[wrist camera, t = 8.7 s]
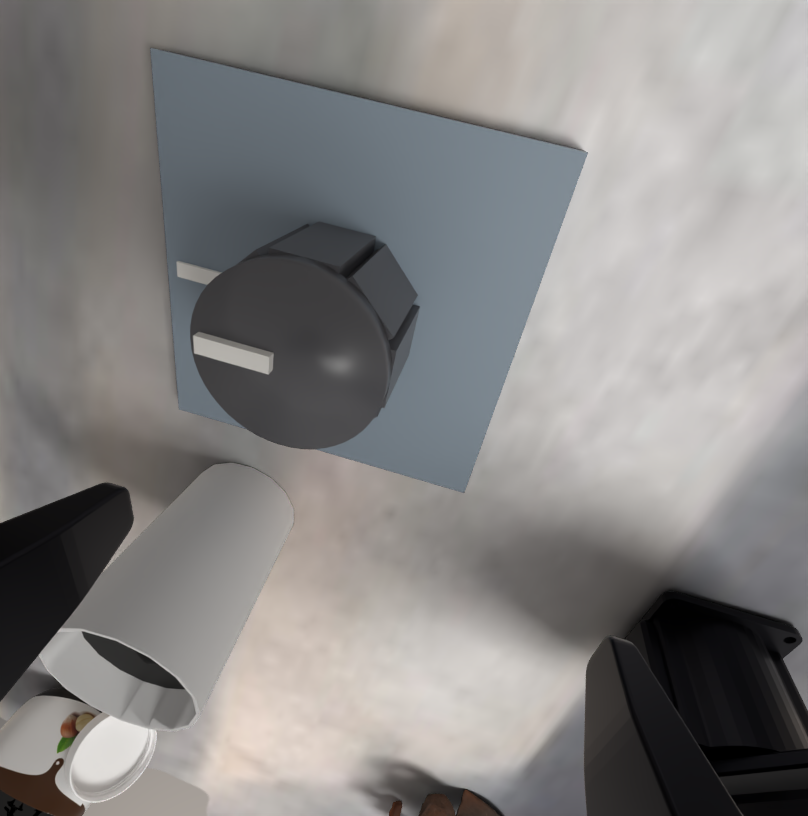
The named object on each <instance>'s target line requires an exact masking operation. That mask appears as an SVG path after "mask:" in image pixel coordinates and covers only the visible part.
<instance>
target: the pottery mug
mask: <svg viewBox="0 0 808 816" xmlns="http://www.w3.org/2000/svg"><path fill="white" fill-rule="evenodd" d="M401 809H402V802H401V801H396V802H394V803H393V805H392V808H391V810H390V812H389V816H400V814H401ZM419 816H500V815H499V814H497V813H496V811H495V810H494V809H493V808H492V807H490V806H489V805H488V804H486V803H485V802H483V801H482V800H481V799H479V798H478V797H477V796H475V795H474V794H472V793H471V792H469V791H468V790H466V789H465V790H464V792H463V795H462V800H461V804H460V805H459V808H458V810H457V814H456V815H455V811H454V809H453V806H452V804H451V802H450V800H449V799H448V798H447V796H446V795H445V794H428V795H427V797H426V799H425V802H424V803H423V804H422V807H421V811H420V814H419Z"/></svg>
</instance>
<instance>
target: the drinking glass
mask: <svg viewBox="0 0 808 816" xmlns="http://www.w3.org/2000/svg"><path fill="white" fill-rule="evenodd" d="M293 524H294V508H293V506H292V504H291V502H290V500H289V498H288V496H287V494H286V492H285V491H284V490H283V489H282V488H281V487H280V486H279V485H278V484H277V483H276V482H275V481H274V480H273V479H272V478H270V477H268V476H267V475H265V474H263V473H261V472H260V471H258V470H256V469H254V468H253V467H249V466H244V465H240V464H236V463H223V464H214V465H213V466H211V467H210V468H208V469H207V470H205V471H204V472H202V473H201V474H200V475H199V476H198V477H197V478H196V479H195V480H194V481H193V482H192V483H191V484H190V485H189V486H188V487H187V488H186V489H185V490H184V491H183V492H182V493H181V494H180V495H179V496H178V497H177V498H176V499H175V500H174V501H173V502H172V503H171V504H170V505H169V506H168V507H167V508H166V509H165V510H164V511H163V512H162V513H161V514H160V515H159V516H158V517H157V518H156V519H155V520H154V521H153V522H152V523H151V524H150V525H149V526H148V527H147V529H146V530H145V531H144V532H143V533H142V534H141V535H140V536H139V537H138V538H137V539H136V540H135V541H134V542H133V543H132V544H131V545H130V546H129V547H128V548H127V549H126V550H125V551H124V552H123V553H122V554H121V555H120V556H119V557H118V558H117V559H116V560H115V561H114V562H113V563H112V564H111V565H110V566H109V567H108V568H107V569H106V570H105V571H104V572H103V573H102V574H101V575H100V576H99V577H98V579H97V580H96V582H95V583H94V585H93V586H92V588H91V589H90V591H89V592H88V594H87V595H86V596H85V598H84V599H83V601H82V602H81V603H80V605H79V606H78V607H77V608H76V610H75V611H74V612H73V613H72V615H71V616H70V617H69V618H68V620H67V621H66V622H65V623H64V625H63V626H62V627H61V628H60V629H59V631H58V632H57V633H56V634H55V635H54V637H53V638H52V639H51V640H50V642H49V643H48V644H47V645H46V646H45V648H44V649H43V650H42V651H41V653H40V654H39V656H40V658H41V660H42V662H43V664H44V666H45V668H46V670H47V671H48V672H49V673H50V674H51V675H52V676H53V677H54V678H55V679H56V680H57V681H58V682H59V683H60V684H61V685H62V686H63V687H64V688H65V689H67V690H68V691H70V692H71V693H72V694H74V695H75V696H77V697H78V698H80V699H81V700H83V701H84V702H86V703H87V704H89V705H90V706H92V707H94V708H96V709H98V710H100V711H102V712H104V713H106V714H108V715H110V716H112V717H114V718H116V719H118V720H121V721H124V722H127V723H130V724H134V725H137V726H140V727H143V728H147V729H152V730H162V731H171V732H174V731H179V730H183V729H187V728H191V727H192V726H193V725H194V724H195V722H196V721H197V720H198V718H199V717H200V715H201V713H202V711H203V709H204V707H205V705H206V703H207V701H208V699H209V697H210V695H211V693H212V691H213V688H214V686H215V684H216V682H217V680H218V678H219V676H220V674H221V672H222V670H223V668H224V666H225V664H226V662H227V660H228V658H229V656H230V654H231V651H232V649H233V647H234V645H235V643H236V641H237V639H238V637H239V635H240V633H241V631H242V629H243V627H244V625H245V623H246V621H247V619H248V617H249V614H250V612H251V610H252V608H253V606H254V604H255V602H256V600H257V598H258V596H259V594H260V592H261V590H262V588H263V586H264V584H265V582H266V580H267V577H268V575H269V573H270V571H271V569H272V567H273V565H274V563H275V561H276V559H277V557H278V555H279V553H280V551H281V549H282V547H283V545H284V543H285V540H286V538H287V536H288V534H289V532H290V530H291V528H292V526H293Z"/></svg>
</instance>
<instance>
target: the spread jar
mask: <svg viewBox="0 0 808 816" xmlns="http://www.w3.org/2000/svg"><path fill="white" fill-rule="evenodd" d="M156 739H157V730H152V729H147V728H143V727H140V726H137V725H134V724H130V723H127V722H124V721H121V720H118V719H116V718H114V717H112V716H110V715H108V714H106V713H104V712H102V711H100V710H98V709H96V708H94V707H92V706H90V705H89V704H87V703H86V702H84V701H83V700H81V699H80V698H78V697H77V696H75V695H74V694H72V693H71V692H70V691H68V690H67V689H65V688H64V687H59V688H54V689H50V690H47V691H44V692H42V693H39V694H38V695H36V696H34V697H33V698H31V699H30V700H28V701H27V702H26V703H25V704H24V705H23V706H21V707H20V708H19V709H18V710H17V711H16V712H15V713H14V715H13V716H12V717H11V718H10V719H9V720H8V721H7V722H6V724H5V725H4V726H3V727H2V728H1V729H0V816H82V815H83V814H84V812H85V811H86V810H87V809H88V807H89V805H90V804H91V803H92V802H94V803H95V802H96V803H97V802H102V801H106V800H109V799H111V798H114V797H115V796H117V795H119V794H121V793H122V792H124V791H125V790H126V789H127V788H129V787H130V786H131V785H132V784H133V783H134V782H135V781H136V780H137V779H138V778H139V777H140V775H141V774H142V773H143V772H144V770H145V769H146V767H147V765H148V764H149V762H150V760H151V757H152V755H153V753H154V749H155V746H156Z"/></svg>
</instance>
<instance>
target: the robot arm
mask: <svg viewBox="0 0 808 816" xmlns="http://www.w3.org/2000/svg"><path fill="white" fill-rule="evenodd" d="M133 520H134V516H133V511H132V505H131V500H130V494H129V491H128V490H127V489H126V488H125V487H122V486H119V485H115V484H112V483H101V484H98V485H96V486H93V487H91V488H88V489H86V490H83V491H81V492H78V493H76V494H73V495H70V496H68V497H65V498H63V499H60V500H58V501H55V502H53V503H50V504H48V505H45V506H43V507H40V508H38V509H35V510H32V511H30V512H27V513H25V514H22V515H20V516H17V517H15V518H12V519H10V520H7V521H5V522H2V523H0V701H1V700H2V699H3V698H4V696H5V695H6V694H7V693H8V692H9V690H10V689H11V688H12V687H13V685H14V684H15V683H16V682H17V681H18V679H19V678H20V677H21V676H22V675H23V673H24V672H25V671H26V670H27V668H28V667H29V666H30V665H31V664H32V662H33V661H34V660H35V659H36V657H37V656H38V655H39V654H40V653H41V651H42V650H43V649H44V648H45V646H46V645H47V644H48V643H49V642H50V640H51V639H52V638H53V637H54V635H55V634H56V633H57V632H58V631H59V629H60V628H61V627H62V626H63V625H64V623H65V622H66V621H67V620H68V618H69V617H70V616H71V615H72V613H73V612H74V611H75V610H76V608H77V607H78V606H79V605H80V603H81V602H82V601H83V599H84V598H85V596H86V595H87V594H88V592H89V591H90V589H91V588H92V586H93V585H94V583H95V582H96V580H97V579H98V577H99V576H100V574H101V573H102V572H103V570H104V569H105V567H106V566H107V564H108V563H109V561H110V560H111V558H112V557H113V555H114V554H115V552H116V551H117V549H118V548H119V546H120V545H121V543H122V542H123V540H124V539H125V537H126V536H127V534H128V533H129V531H130V529H131V527H132V525H133ZM801 642H802V637H801V635H800V633H799V631H798V630H797V629H796V628H794V627H792V626H788V625H785V624H782V623H778V622H775V621H772V620H768V619H765V618H762V617H758V616H755V615H752V614H748V613H745V612H741V611H738V610H735V609H731V608H728V607H725V606H721V605H718V604H715V603H711V602H708V601H705V600H701V599H698V598H695V597H691V596H688V595H685V594H681V593H678V592H673V591H671V592H666V593H663V594H662V595H661V596H660V597H659V599H658V600H657V601H656V602H655V604H654V605H653V606H652V607H651V609H650V610H649V611H648V612H647V613H646V615H645V616H644V617H643V618H642V620H641V621H640V622H639V623H638V624H637V625H636V626H635V628H634V629H633V630H632V631H631V633H630V634H629V635H628V636H627V637H626V639H625V640H624V639H621V638H618V637H614V636H607V637H606V638H605V639H604V640H603V641H602V643H601V644H600V645H599V647H598V648H597V650H596V651H595V653H594V654H593V655H592V657H591V658H590V660H589V662H588V665H587V670H586V693H585V731H584V781H585V796H586V809H587V816H808V711H807V709H806V706H805V704H804V702H803V700H802V698H801V696H800V694H799V692H798V690H797V688H796V686H795V684H794V682H793V679H792V677H791V675H790V673H789V671H788V669H787V667H786V665H785V663H784V661H783V658H784V657H785V656H786V655H788V654H789V653H790V652H791V651H792V650H794V649H795V648H796V647H797V646H798V645H799V644H801Z"/></svg>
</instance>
